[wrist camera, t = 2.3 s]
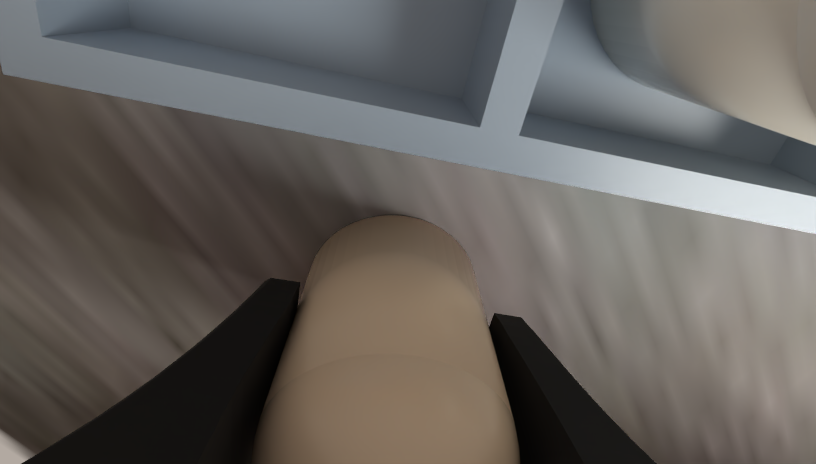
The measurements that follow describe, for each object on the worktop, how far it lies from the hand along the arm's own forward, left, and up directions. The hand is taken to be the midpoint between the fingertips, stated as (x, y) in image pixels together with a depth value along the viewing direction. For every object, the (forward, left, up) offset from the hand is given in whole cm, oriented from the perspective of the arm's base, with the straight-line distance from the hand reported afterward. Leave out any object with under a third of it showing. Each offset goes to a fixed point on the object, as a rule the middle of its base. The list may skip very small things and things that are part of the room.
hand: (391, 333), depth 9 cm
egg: (0, 0, -2) cm, 2 cm away
